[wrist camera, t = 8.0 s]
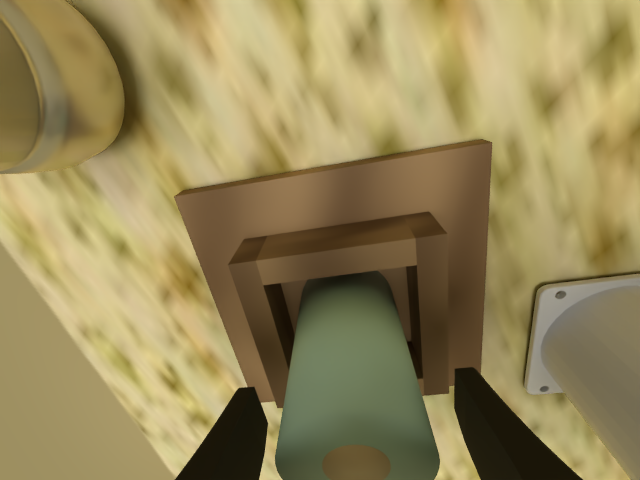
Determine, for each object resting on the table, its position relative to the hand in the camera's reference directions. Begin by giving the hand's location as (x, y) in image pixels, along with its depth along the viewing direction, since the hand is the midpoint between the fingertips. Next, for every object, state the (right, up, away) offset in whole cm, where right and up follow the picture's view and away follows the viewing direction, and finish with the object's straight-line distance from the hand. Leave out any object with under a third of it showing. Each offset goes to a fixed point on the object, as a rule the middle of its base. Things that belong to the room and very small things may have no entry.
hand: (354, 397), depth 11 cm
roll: (0, +2, +5) cm, 6 cm away
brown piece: (0, +3, +6) cm, 7 cm away
